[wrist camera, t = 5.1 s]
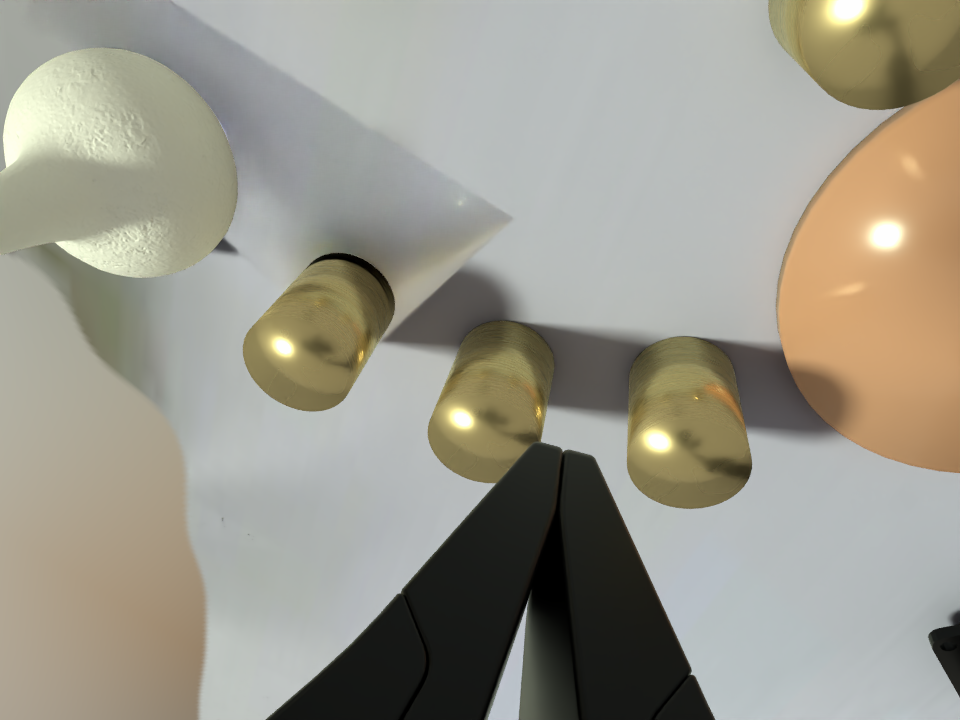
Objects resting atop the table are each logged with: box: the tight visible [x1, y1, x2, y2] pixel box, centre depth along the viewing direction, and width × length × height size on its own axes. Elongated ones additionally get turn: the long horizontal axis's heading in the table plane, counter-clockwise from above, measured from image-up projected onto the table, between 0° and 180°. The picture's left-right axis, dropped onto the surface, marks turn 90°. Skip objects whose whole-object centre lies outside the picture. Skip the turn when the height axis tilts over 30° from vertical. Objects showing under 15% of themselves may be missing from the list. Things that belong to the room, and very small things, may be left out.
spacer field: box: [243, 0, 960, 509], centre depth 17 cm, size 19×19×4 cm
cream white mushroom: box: [0, 48, 238, 278], centre depth 17 cm, size 6×6×8 cm
